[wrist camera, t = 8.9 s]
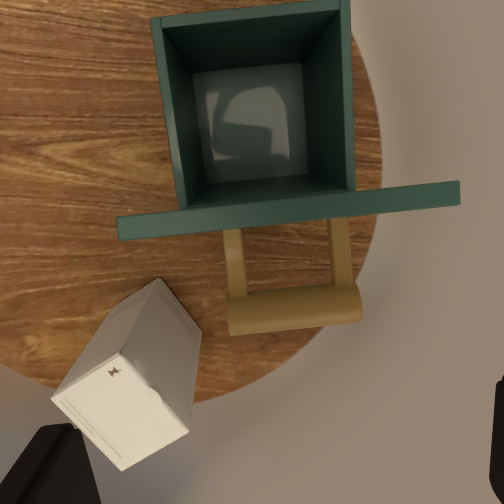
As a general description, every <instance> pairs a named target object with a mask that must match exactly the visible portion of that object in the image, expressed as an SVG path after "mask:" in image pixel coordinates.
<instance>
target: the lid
mask: <svg viewBox="0 0 504 504" xmlns="http://www.w3.org/2000/svg"><path fill="white" fill-rule="evenodd" d="M456 205H460V182H459V181H458V180H457V181H448V182H439V183H430V184H420V185H411V186H401V187H392V188H384V189H383V188H382V189H373V190H363V191H354V192H345V193H335V194H326V195H316V196H307V197H298V198H288V199H279V200H269V201H260V202H250V203H241V204H232V205H222V206H213V207H203V208H194V209H185V210H175V211H166V212H156V213H147V214H138V215H128V216H119V217H116V223H117V230H118V237H119V241H127V240H136V239H146V238H155V237H165V236H174V235H183V234H193V233H202V232H212V231H221V230H222V236H223V244H224V253H225V262H226V271H227V279H228V288H229V294H228V295H226V313H227V322H228V329H229V333H230V335H231V336H235V335H245V334H254V333H263V332H273V331H282V330H291V329H301V328H310V327H320V326H329V325H338V324H348V323H357V322H360V321H361V318H362V301H361V296H360V292H359V289H358V286H357V284H356V283H355V282H354V281H353V275H352V262H351V249H350V235H349V222H348V217H353V216H362V215H371V214H381V213H389V212H400V211H409V210H418V209H428V208H437V207H447V206H456ZM324 219H327V232H328V244H329V256H330V269H331V281H332V283H328V284H319V285H310V286H300V287H291V288H282V289H272V290H263V291H253V292H248V288H247V279H246V270H245V261H244V251H243V242H242V233H241V228H249V227H259V226H268V225H277V224H287V223H296V222H306V221H315V220H324Z"/></svg>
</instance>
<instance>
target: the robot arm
mask: <svg viewBox="0 0 504 504" xmlns="http://www.w3.org/2000/svg"><path fill="white" fill-rule="evenodd" d="M489 479H490V483H491V486H492V489H493V491H494V493H495V494H496V496H497V497H498V499H499V500H500V502H501V503H502V504H504V375H503V377H502V381H498V382H497V384H496V392H495V405H494V419H493V432H492V445H491V458H490V472H489ZM0 504H101V500H100V497H99V493H98V489H97V486H96V482H95V479H94V475H93V472H92V468H91V465H90V461H89V457H88V454H87V451H86V447H85V443H84V440H83V436H82V433H81V431H80V430H79V429H74V427H73V425H72V424H70V423H64V424H54V425H46V426H43V427H41V428H40V429H39V430H38V431H37V432H36V434H35V435H34V437H33V438H32V440H31V441H30V442H29V444H28V445H27V447H26V448H25V449H24V451H23V452H22V454H21V455H20V457H19V458H18V460H17V461H16V462H15V464H14V465H13V466H12V468H11V469H10V471H9V472H8V474H7V475H6V476H5V478H4V479H3V481H2V482H1V484H0Z"/></svg>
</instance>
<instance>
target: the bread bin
mask: <svg viewBox="0 0 504 504" xmlns="http://www.w3.org/2000/svg"><path fill="white" fill-rule="evenodd" d="M350 13H351V12H350V0H313V1H303V2H294V3H284V4H275V5H265V6H256V7H246V8H237V9H227V10H218V11H209V12H199V13H190V14H180V15H171V16H162V17H161V18H160V17H152V18H150V24H151V31H152V37H153V44H154V50H155V57H156V63H157V70H158V76H159V82H160V89H161V95H162V102H163V108H164V115H165V121H166V128H167V134H168V141H169V147H170V154H171V160H172V167H173V173H174V179H175V186H176V192H177V199H178V205H179V210H185V209H194V208H203V207H213V206H222V205H232V204H241V203H250V202H260V201H269V200H279V199H288V198H298V197H307V196H316V195H326V194H335V193H345V192H354V191H356V185H355V150H354V115H353V81H352V46H351V14H350Z"/></svg>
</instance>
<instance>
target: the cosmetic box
mask: <svg viewBox="0 0 504 504" xmlns="http://www.w3.org/2000/svg"><path fill="white" fill-rule="evenodd" d="M201 337H202V331H201V330H200V328H199V327H198V326H197V324H196V323H195V322H194V320H193V319H192V318H191V316H190V315H189V314H188V313H187V311H186V310H185V309H184V307H183V306H182V305H181V304H180V302H179V301H178V300H177V298H176V297H175V296H174V295H173V293H172V292H171V291H170V289H169V288H168V287H167V286H166V284H165V283H164V282H163V281H162V279H161V278H157V279H155V280H154V281H152V282H150V283H149V284H147V285H146V286H144V287H143V288H141V289H139V290H138V291H136V292H135V293H133V294H132V295H130V296H129V297H127V298H126V299H124V300H123V301H121V302H120V303H118V304H117V305H115V306H114V307H113V308H112V310H111V311H110V313H109V314H108V315H107V317H106V318H105V320H104V321H103V323H102V324H101V326H100V327H99V329H98V330H97V331H96V333H95V334H94V336H93V337H92V339H91V340H90V342H89V343H88V345H87V346H86V348H85V349H84V350H83V352H82V353H81V355H80V356H79V358H78V359H77V361H76V362H75V364H74V365H73V366H72V368H71V369H70V371H69V372H68V374H67V375H66V377H65V378H64V380H63V381H62V383H61V384H60V385H59V387H58V388H57V390H56V391H55V393H54V394H53V396H52V397H51V400H52V401H53V402H54V403H55V404H56V405H57V406H58V407H59V408H60V409H61V410H62V411H63V412H64V413H65V414H66V415H67V416H68V417H69V418H70V419H71V420H72V421H73V422H74V423H75V424H76V425H77V426H78V427H79V428H80V429H81V430H82V431H83V432H84V434H85V435H86V436H87V437H88V438H89V439H90V440H91V441H92V442H93V443H94V444H95V445H96V446H97V447H98V448H99V449H100V450H101V451H102V452H103V453H104V454H105V455H106V456H107V457H108V458H109V459H110V460H111V461H112V462H113V463H114V464H115V466H117V468H118V469H119V470H121V471H123V470H125V469H126V468H128V467H130V466H132V465H133V464H135V463H137V462H138V461H140V460H142V459H144V458H145V457H147V456H149V455H151V454H152V453H154V452H156V451H158V450H159V449H161V448H163V447H164V446H166V445H168V444H170V443H171V442H173V441H175V440H177V439H178V438H180V437H182V436H183V435H185V434H187V433H188V432H189V428H190V420H191V413H192V405H193V397H194V390H195V382H196V375H197V367H198V359H199V352H200V344H201Z"/></svg>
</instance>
